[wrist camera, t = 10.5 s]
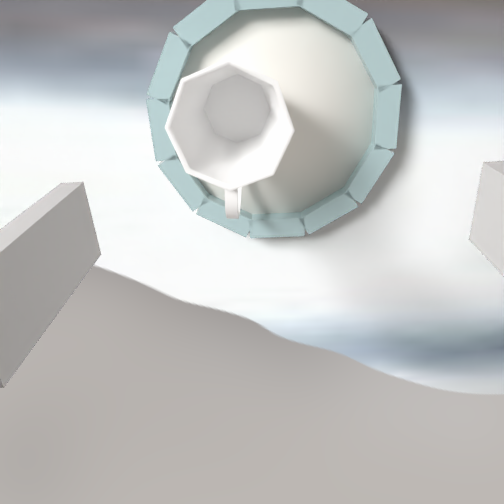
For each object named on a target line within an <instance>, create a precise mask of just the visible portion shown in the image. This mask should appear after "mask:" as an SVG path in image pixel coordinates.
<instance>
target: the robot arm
mask: <svg viewBox="0 0 504 504" xmlns="http://www.w3.org/2000/svg"><path fill="white" fill-rule="evenodd" d="M469 240H470V241H471V243H472V244H473V245H474V246H475V247H476V248H477V249H478V250H479V251H480V252H481V253H482V254H483V255H484V256H485V257H486V259H487V260H488V261H489V262H490V263H491V264H492V265H493V266H494V267H495V268H496V269H497V270H498V271H499V272H500V273H501V274H502V276H503V277H504V161H497V162H483V165H482V170H481V176H480V181H479V187H478V192H477V198H476V203H475V208H474V214H473V219H472V225H471V230H470V236H469ZM100 255H101V252H100V248H99V244H98V240H97V236H96V232H95V228H94V224H93V220H92V216H91V212H90V208H89V203H88V199H87V195H86V191H85V187H84V183H83V182H73V183H61V184H59V185H58V186H57V187H55V188H54V189H53V190H51V191H50V192H49V193H47V194H46V195H45V196H44V197H42V198H41V199H40V200H38V201H37V202H36V203H34V204H33V205H32V206H30V207H29V208H28V209H26V210H25V211H24V212H23V213H21V214H20V215H19V216H17V217H16V218H15V219H13V220H12V221H11V222H9V223H8V224H7V225H5V226H4V227H3V228H2V229H0V388H2V387H5V386H6V384H7V383H8V381H9V380H10V378H11V377H12V376H13V374H14V373H15V372H16V370H17V369H18V368H19V366H20V365H21V363H22V362H23V361H24V359H25V358H26V357H27V355H28V354H29V353H30V351H31V350H32V348H33V347H34V346H35V344H36V343H37V341H38V340H39V339H40V338H41V336H42V335H43V333H44V332H45V331H46V329H47V328H48V326H49V325H50V324H51V322H52V321H53V320H54V318H55V317H56V316H57V314H58V313H59V311H60V310H61V309H62V307H63V306H64V305H65V303H66V302H67V300H68V299H69V298H70V296H71V295H72V294H73V292H74V291H75V289H76V288H77V287H78V285H79V284H80V283H81V281H82V280H83V278H84V277H85V276H86V274H87V273H88V272H89V270H90V269H91V267H92V266H93V265H94V263H95V262H96V261H97V259H98V258H99V256H100Z"/></svg>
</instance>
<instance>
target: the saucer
mask: <svg viewBox="0 0 504 504" xmlns="http://www.w3.org/2000/svg"><path fill="white" fill-rule="evenodd" d="M367 15H368V14H367V13H366V12H364V11H362V10H361V9H359V8H357V7H356V6H354V5H352V4H351V3H349V2H347V1H346V0H207V1H206V2H204V3H203V4H202V5H200V6H199V7H198V8H197V9H195V10H194V11H193V12H192V13H190V14H189V15H188V16H187V17H185V18H184V19H183V20H181V21H180V22H179V23H178V24H176V25H175V26H174V27H173V28H174V30H175V31H176V33H177V34H176V33H174V32H169V35H168V38H167V40H166V43H165V46H164V48H163V51H162V54H161V57H160V59H159V62H158V65H157V67H156V70H155V73H154V76H153V78H152V81H151V84H150V86H149V89H148V92H147V95H148V96H150V98H148V99H146V103H147V109H148V115H149V121H150V128H151V134H152V140H153V146H154V153H155V159H156V161H161V162H160V163H159V165H158V166H159V168H160V169H161V170H162V172H163V173H164V174H165V176H166V177H167V178H168V180H169V181H170V182H171V184H172V185H173V186H174V187H175V189H176V190H177V191H178V193H179V194H180V195H181V197H182V198H183V199H184V201H185V202H186V203H187V205H188V206H189V207H190V208H191V210H192V211H194V210H196V209H197V208H198V211H197V215H199V216H201V217H203V218H205V219H208V220H210V221H212V222H214V223H216V224H218V225H220V226H223V227H225V228H227V229H229V230H231V231H233V232H235V233H238V234H240V235H242V236H244V237H246V236H247V235H248V233H249V231H250V238H268V237H292V236H305V229H306V231H307V232H308V234H311V233H313V232H315V231H317V230H318V229H320V228H322V227H324V226H325V225H327V224H329V223H331V222H332V221H334V220H336V219H338V218H339V217H341V216H343V215H345V214H347V213H348V212H350V211H352V210H354V209H355V208H357V207H358V206H357V204H356V202H355V201H357V202H359V203H361V204H362V202H363V201H364V199H365V198H366V196H367V195H368V193H369V192H370V190H371V189H372V187H373V186H374V184H375V183H376V181H377V180H378V178H379V176H380V175H381V173H382V172H383V170H384V169H385V167H386V166H387V164H388V163H389V161H390V160H391V158H392V157H393V155H394V154H395V153H394V152H393V151H392V150H391V149H396V147H397V135H398V124H399V112H400V101H401V89H402V84H400V83H396V82H397V81H399V80H400V79H401V78H400V76H399V74H398V72H397V70H396V68H395V66H394V63H393V61H392V59H391V57H390V55H389V53H388V51H387V49H386V47H385V45H384V43H383V40H382V38H381V36H380V34H379V32H378V30H377V28H376V26H375V24H374V22H373V20H372V18H369V19H367V20H365V18H366V17H367ZM364 20H365V21H364ZM228 58H230V59H232V60H234V61H237V62H239V63H241V64H243V65H245V66H247V67H249V68H251V69H254V70H256V71H258V72H260V73H262V74H264V75H266V76H268V77H270V78H273V79H275V80H277V81H278V83H279V86H280V89H281V92H282V95H283V98H284V101H285V104H286V107H287V110H288V113H289V115H290V118H291V121H292V124H293V127H294V130H295V131H294V133H293V135H292V138H291V140H290V142H289V144H288V146H287V148H286V150H285V152H284V155H283V157H282V159H281V161H280V163H279V165H278V167H277V169H276V171H275V174H274V175H273V176H270V177H267V178H265V179H262V180H259V181H257V182H254V183H251V184H249V185H246V186H243V187H242V195H241V209H240V216H239V219H227V218H226V214H225V189H223V188H221V187H218V186H216V185H213V184H211V183H209V182H206V181H204V180H202V179H199V178H197V177H194V176H192V175H190V174H187V173H186V172H185V170H184V168H183V166H182V164H181V161H180V159H179V157H178V155H177V153H176V151H175V149H174V146H173V144H172V142H171V140H170V138H169V136H168V134H167V132H166V129H165V125H166V122H167V119H168V116H169V113H170V110H171V107H172V104H173V101H174V98H175V95H176V92H177V89H178V86H179V83H180V80H181V79H182V78H184V77H186V76H189V75H191V74H193V73H196V72H198V71H200V70H202V69H205V68H207V67H209V66H212V65H214V64H216V63H219V62H221V61H223V60H226V59H228Z"/></svg>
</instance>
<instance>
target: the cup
mask: <svg viewBox="0 0 504 504" xmlns="http://www.w3.org/2000/svg"><path fill="white" fill-rule="evenodd" d="M165 129H166V132H167V134H168V136H169V138H170V140H171V142H172V144H173V146H174V149H175V151H176V153H177V155H178V157H179V159H180V161H181V164H182V166H183V168H184V170H185V172H186V173H187V174H190V175H192V176H194V177H197V178H199V179H202V180H204V181H206V182H209V183H211V184H213V185H216V186H218V187H221V188H223V189H225V214H226V218H227V219H239V216H240V209H241V195H242V187H243V186H246V185H249V184H251V183H254V182H257V181H259V180H262V179H265V178H267V177H270V176H273V175H274V174H275V171H276V169H277V167H278V165H279V163H280V161H281V159H282V157H283V155H284V152H285V150H286V148H287V146H288V144H289V142H290V140H291V138H292V135H293V133H294V131H295V130H294V127H293V124H292V121H291V118H290V115H289V113H288V110H287V107H286V104H285V101H284V98H283V95H282V92H281V89H280V86H279V83H278V81H277V80H275V79H273V78H270V77H268V76H266V75H264V74H262V73H260V72H258V71H256V70H254V69H251V68H249V67H247V66H245V65H243V64H241V63H239V62H237V61H234V60H232V59H230V58H228V59H226V60H223V61H221V62H219V63H216V64H214V65H212V66H209V67H207V68H205V69H202V70H200V71H198V72H196V73H193V74H191V75H189V76H186V77H184V78H182V79H181V80H180V83H179V86H178V89H177V92H176V95H175V98H174V101H173V104H172V107H171V110H170V113H169V116H168V119H167V122H166V125H165Z"/></svg>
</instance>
